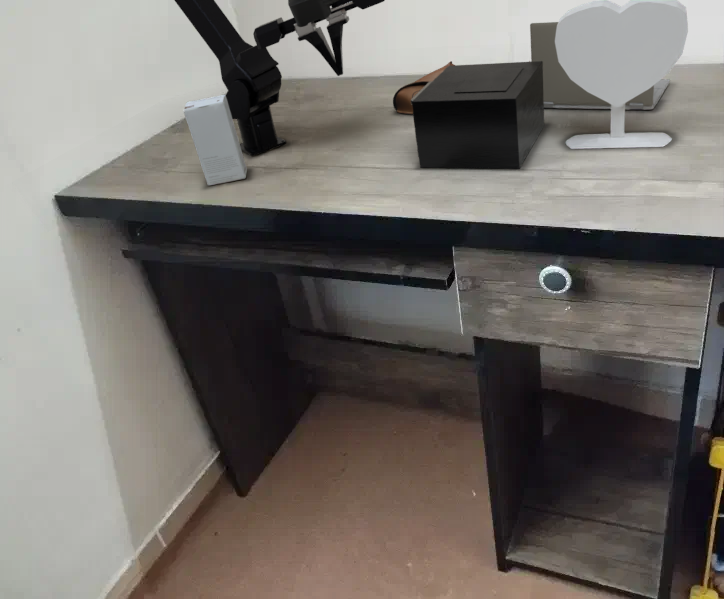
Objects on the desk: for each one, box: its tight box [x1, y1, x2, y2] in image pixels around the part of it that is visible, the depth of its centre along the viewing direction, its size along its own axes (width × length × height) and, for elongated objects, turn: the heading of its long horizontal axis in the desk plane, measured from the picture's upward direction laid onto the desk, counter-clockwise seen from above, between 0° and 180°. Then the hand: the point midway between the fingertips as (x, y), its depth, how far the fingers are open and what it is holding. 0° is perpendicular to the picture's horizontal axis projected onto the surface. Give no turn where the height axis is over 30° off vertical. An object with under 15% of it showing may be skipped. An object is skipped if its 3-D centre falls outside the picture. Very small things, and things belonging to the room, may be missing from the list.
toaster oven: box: [411, 61, 545, 170], centre depth 102 cm, size 15×16×10 cm
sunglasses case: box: [392, 61, 455, 116], centre depth 126 cm, size 18×7×7 cm
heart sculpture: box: [555, 0, 689, 150], centre depth 93 cm, size 16×5×18 cm, turn 70°
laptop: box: [529, 21, 671, 111], centre depth 110 cm, size 18×12×13 cm
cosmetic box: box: [182, 94, 248, 186], centre depth 107 cm, size 6×4×12 cm
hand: (340, 74), depth 105 cm, fingers closed
